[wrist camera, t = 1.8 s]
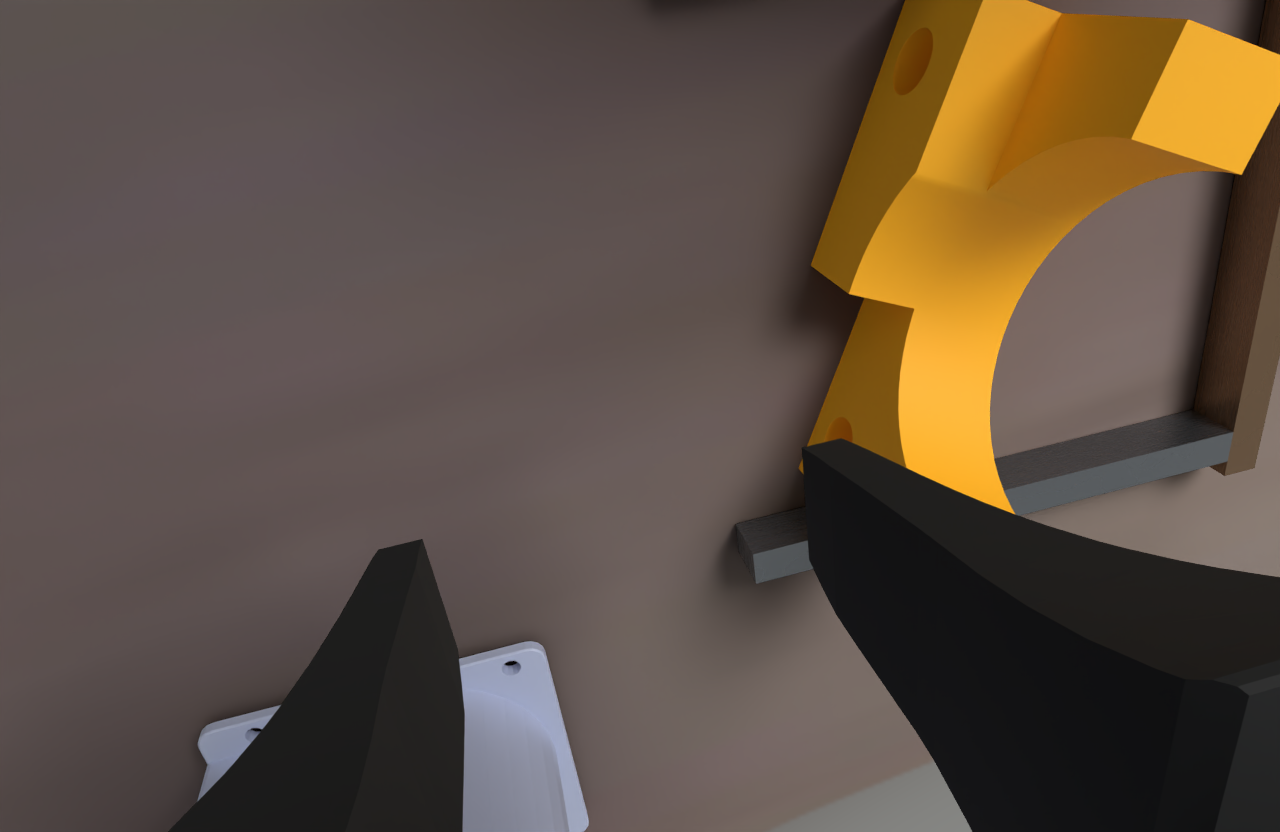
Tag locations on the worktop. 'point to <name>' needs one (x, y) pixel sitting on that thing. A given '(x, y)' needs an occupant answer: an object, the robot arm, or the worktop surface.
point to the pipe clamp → (1002, 196)
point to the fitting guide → (1206, 436)
